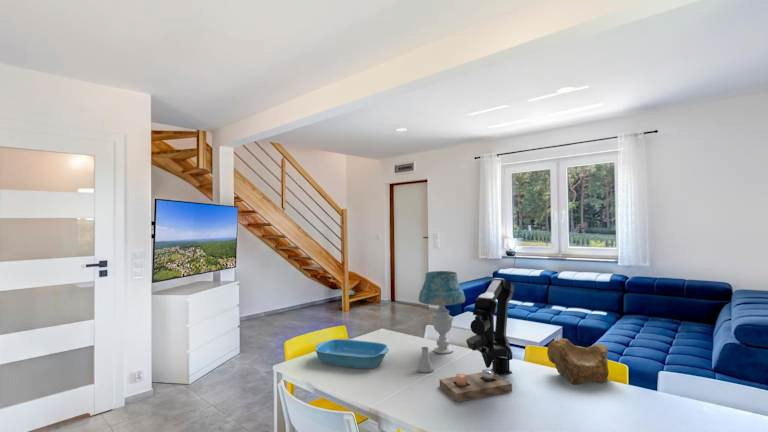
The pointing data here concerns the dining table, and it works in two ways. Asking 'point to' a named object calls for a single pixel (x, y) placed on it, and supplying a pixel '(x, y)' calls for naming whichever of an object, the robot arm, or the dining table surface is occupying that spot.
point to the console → (475, 387)
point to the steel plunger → (487, 375)
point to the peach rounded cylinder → (461, 380)
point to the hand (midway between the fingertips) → (487, 367)
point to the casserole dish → (351, 353)
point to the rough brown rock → (579, 361)
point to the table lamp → (442, 303)
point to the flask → (425, 362)
